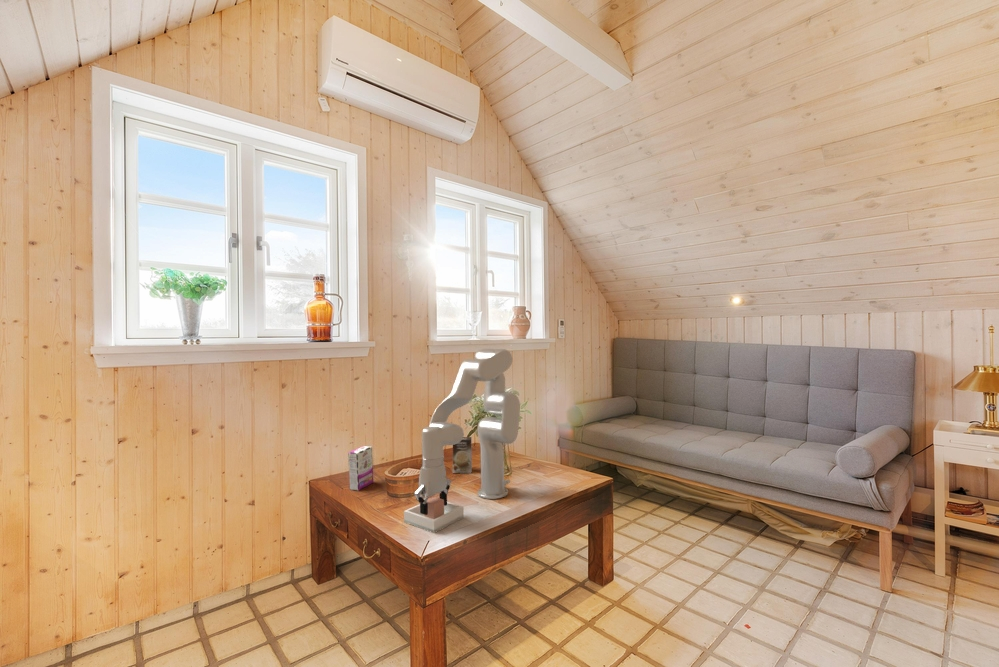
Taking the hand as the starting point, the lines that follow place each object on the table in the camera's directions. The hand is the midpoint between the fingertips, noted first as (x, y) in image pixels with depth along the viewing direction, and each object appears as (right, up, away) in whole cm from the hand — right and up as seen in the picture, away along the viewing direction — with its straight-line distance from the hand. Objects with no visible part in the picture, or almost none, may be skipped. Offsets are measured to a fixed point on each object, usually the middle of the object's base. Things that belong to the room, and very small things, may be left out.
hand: (433, 509), depth 161 cm
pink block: (0, -3, 0) cm, 3 cm away
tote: (0, -4, 0) cm, 4 cm away
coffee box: (+6, -4, +54) cm, 55 cm away
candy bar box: (-37, -5, +37) cm, 53 cm away
